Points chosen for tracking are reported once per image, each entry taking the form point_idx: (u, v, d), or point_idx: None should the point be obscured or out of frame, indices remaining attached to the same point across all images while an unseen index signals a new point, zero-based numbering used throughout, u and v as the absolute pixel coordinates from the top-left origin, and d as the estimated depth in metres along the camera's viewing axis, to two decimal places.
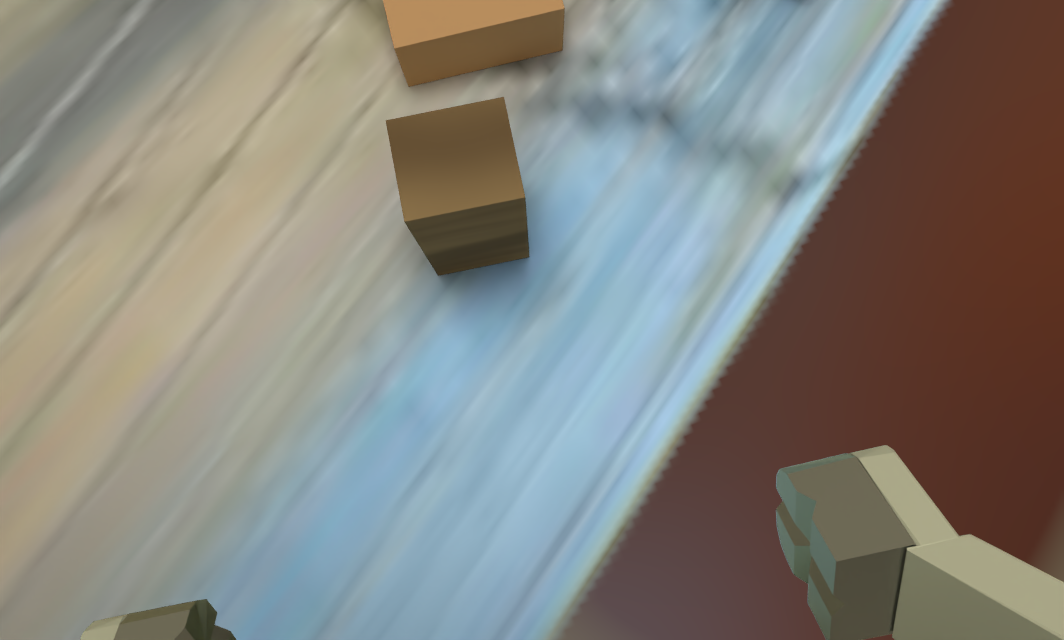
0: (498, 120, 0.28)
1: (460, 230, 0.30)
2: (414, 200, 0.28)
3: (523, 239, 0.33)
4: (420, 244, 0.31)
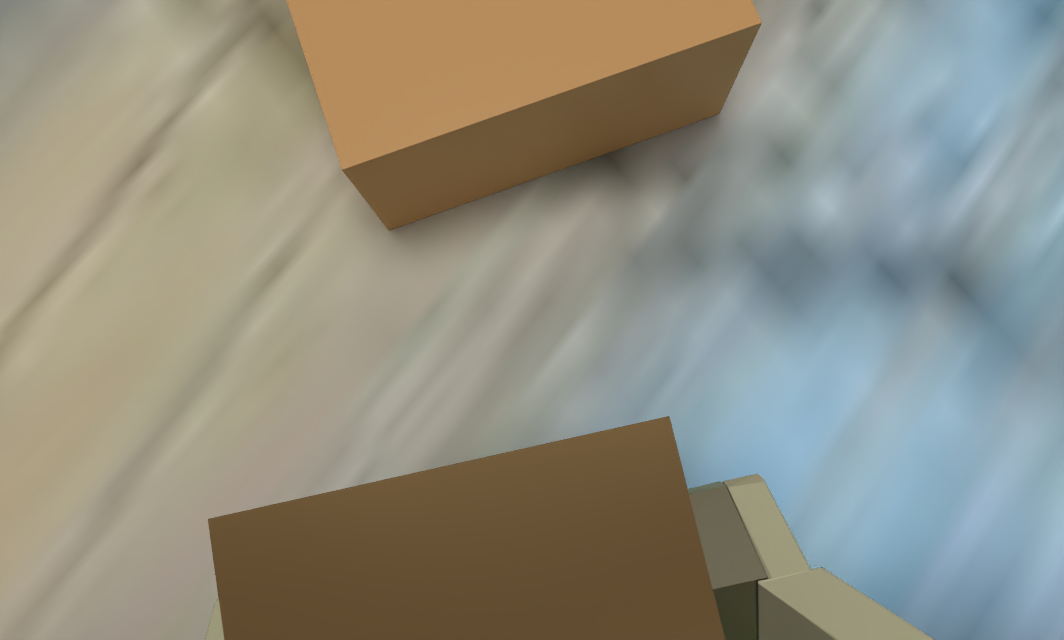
0: (652, 516, 0.07)
1: None
2: None
3: None
4: None
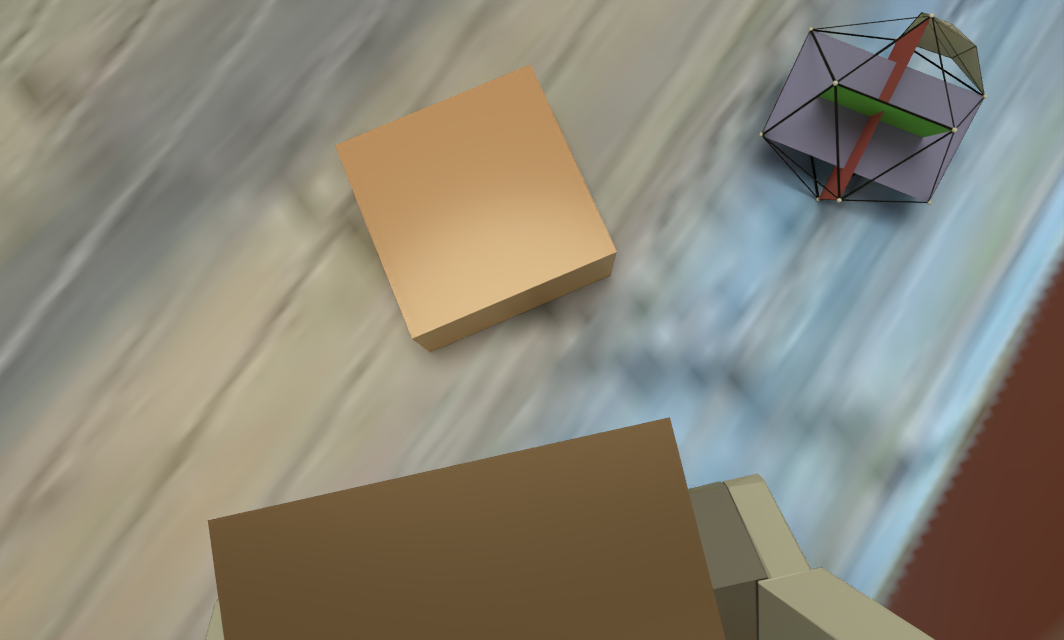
0: (653, 518, 0.07)
1: None
2: None
3: None
4: None
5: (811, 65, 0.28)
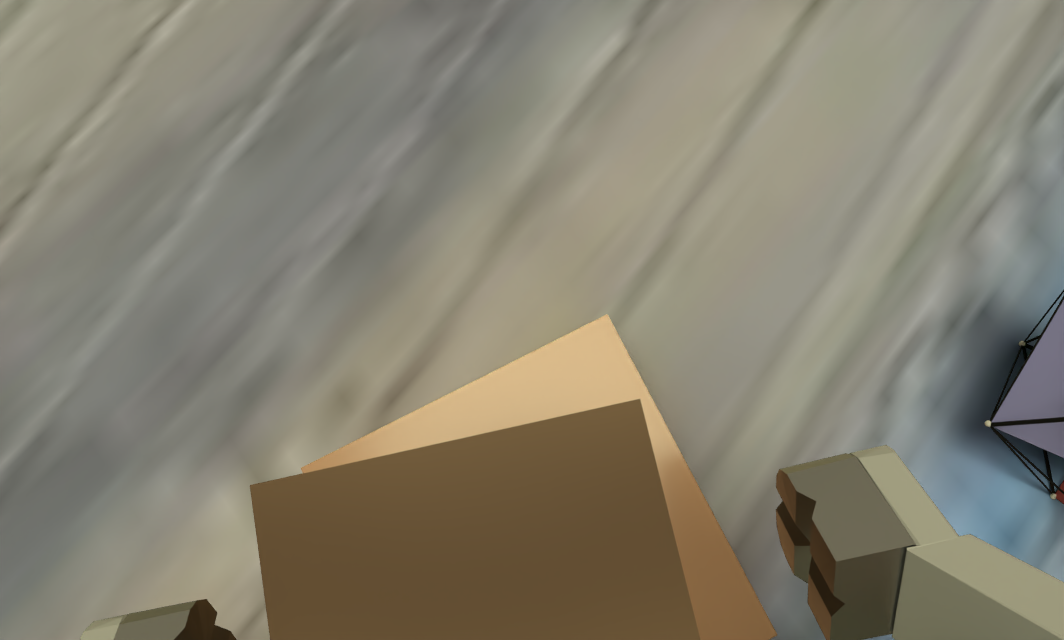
0: (626, 482, 0.08)
1: None
2: None
3: None
4: None
5: None
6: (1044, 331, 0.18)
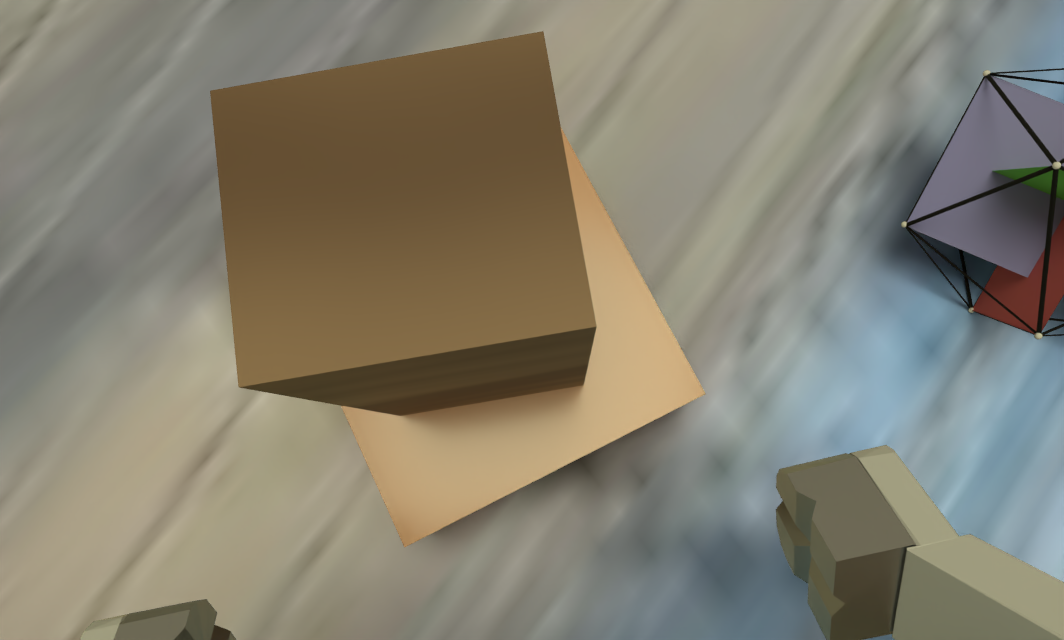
0: (525, 97, 0.10)
1: (421, 379, 0.12)
2: (273, 323, 0.09)
3: (576, 373, 0.15)
4: (327, 401, 0.13)
5: (984, 125, 0.19)
6: (954, 134, 0.19)
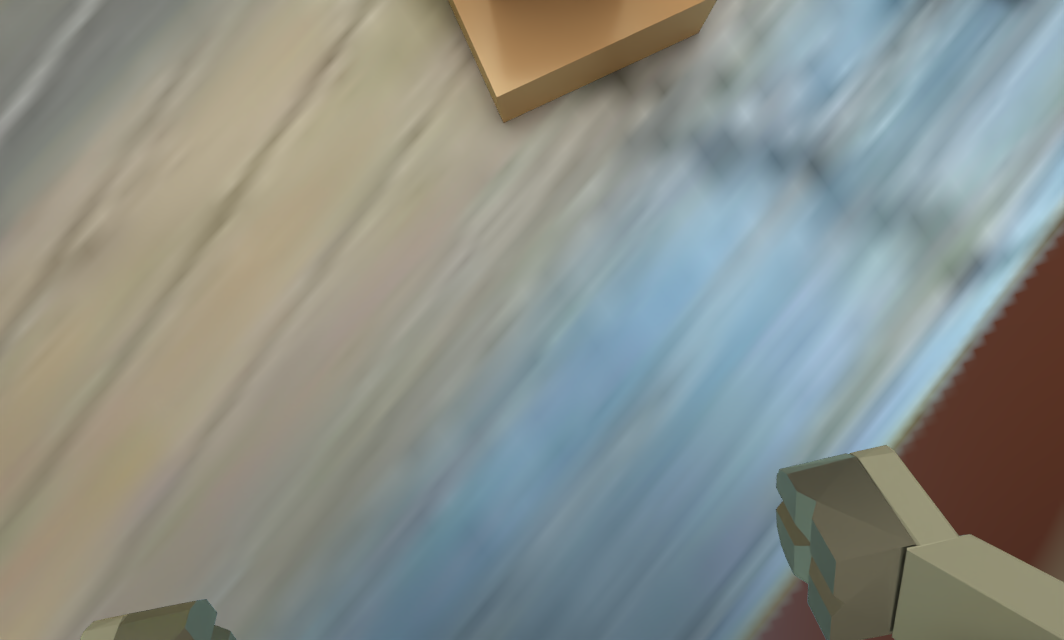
0: None
1: None
2: None
3: None
4: None
5: None
6: None
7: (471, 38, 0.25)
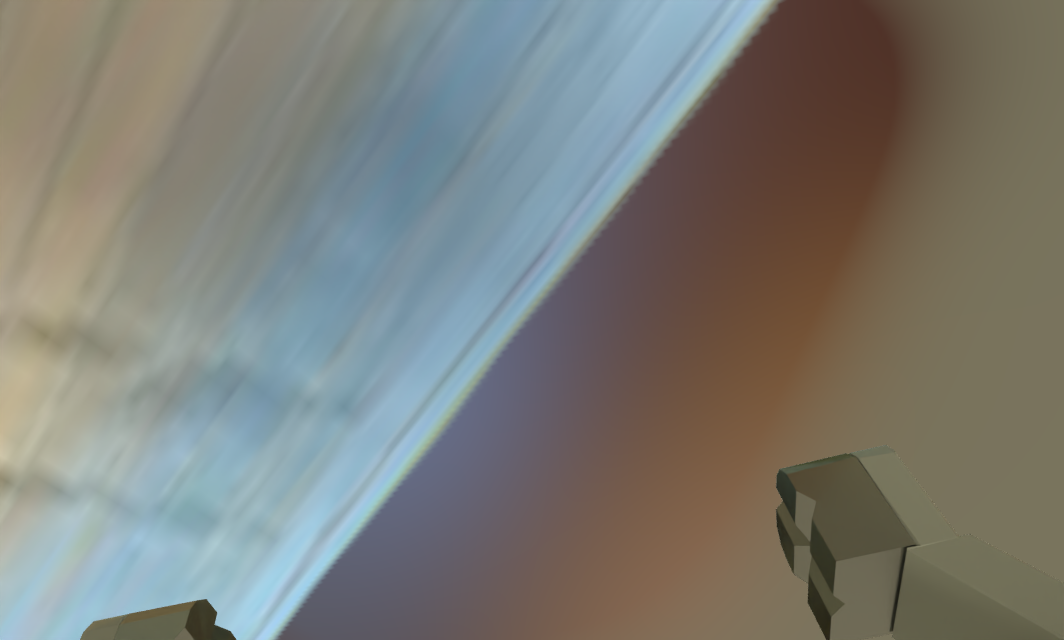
0: None
1: None
2: None
3: None
4: None
5: None
6: None
7: None
